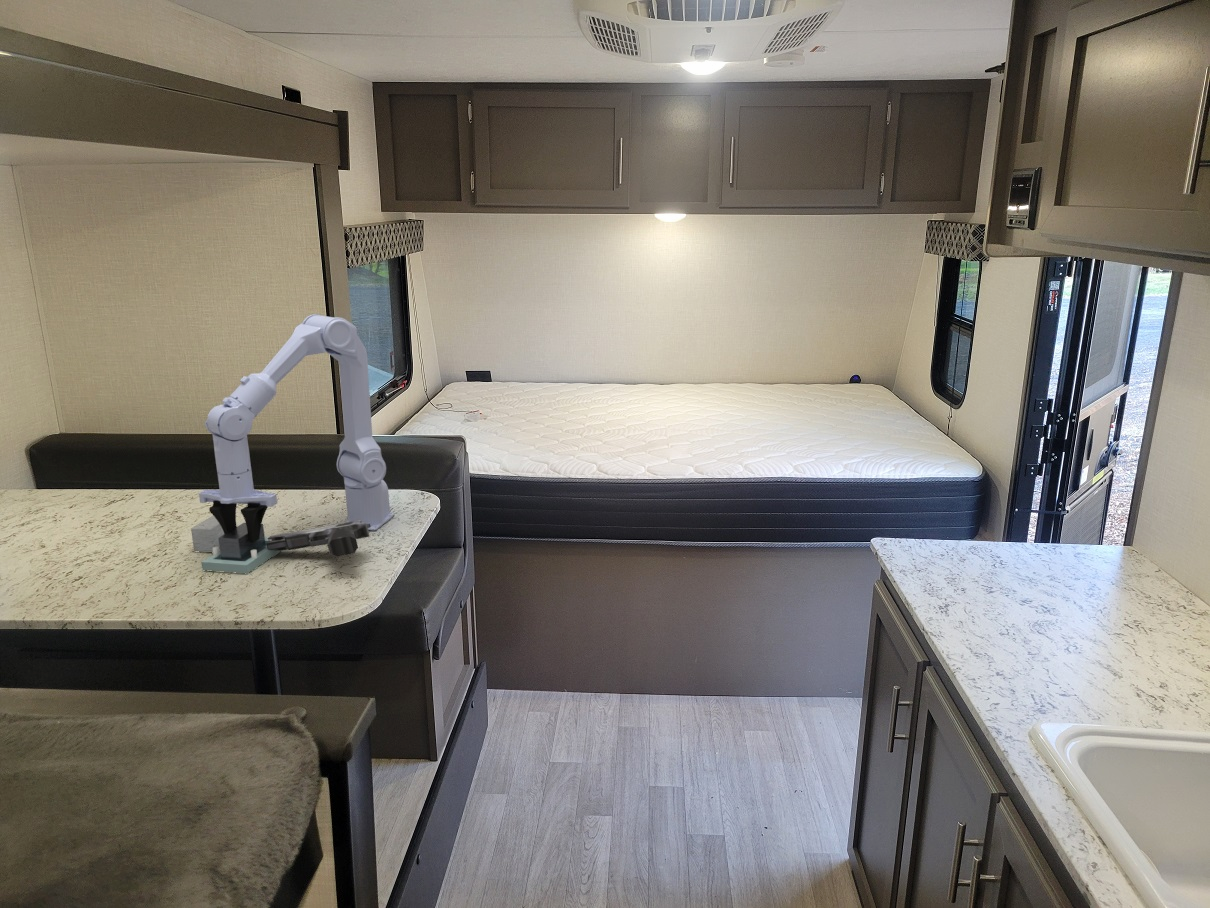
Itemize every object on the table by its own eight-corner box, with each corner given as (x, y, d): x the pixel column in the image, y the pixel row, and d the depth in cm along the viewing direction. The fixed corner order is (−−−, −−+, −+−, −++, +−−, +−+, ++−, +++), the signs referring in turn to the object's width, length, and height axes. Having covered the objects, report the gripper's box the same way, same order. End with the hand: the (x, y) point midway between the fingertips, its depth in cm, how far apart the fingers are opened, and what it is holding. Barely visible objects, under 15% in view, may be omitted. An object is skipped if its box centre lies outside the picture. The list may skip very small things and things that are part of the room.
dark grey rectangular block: (241, 564, 154) (238, 539, 152) (221, 563, 154) (218, 537, 153) (265, 548, 161) (263, 523, 160) (247, 546, 162) (243, 522, 161)
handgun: (353, 536, 148) (374, 515, 159) (242, 555, 149) (270, 534, 161) (358, 553, 148) (378, 531, 160) (247, 572, 150) (275, 549, 162)
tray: (244, 544, 165) (242, 529, 164) (286, 547, 164) (284, 532, 163) (202, 571, 153) (200, 554, 152) (247, 574, 151) (245, 557, 151)
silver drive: (218, 537, 169) (215, 514, 168) (236, 538, 169) (233, 515, 168) (194, 552, 162) (190, 528, 160) (213, 553, 161) (210, 529, 160)
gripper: (184, 474, 151) (194, 545, 155) (258, 478, 149) (266, 550, 152) (209, 463, 158) (218, 531, 161) (279, 467, 155) (287, 536, 159)
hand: (243, 539), depth 157 cm, fingers closed on dark grey rectangular block, 4 cm apart
